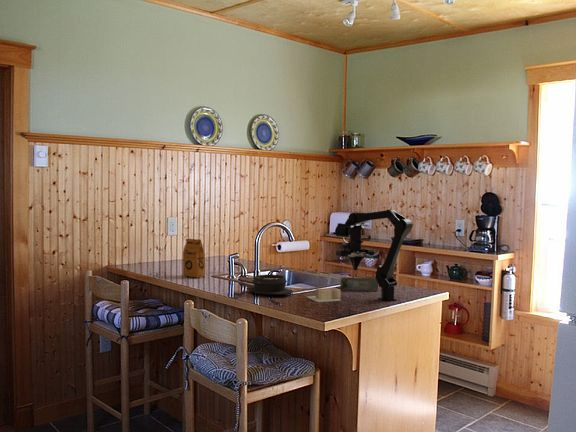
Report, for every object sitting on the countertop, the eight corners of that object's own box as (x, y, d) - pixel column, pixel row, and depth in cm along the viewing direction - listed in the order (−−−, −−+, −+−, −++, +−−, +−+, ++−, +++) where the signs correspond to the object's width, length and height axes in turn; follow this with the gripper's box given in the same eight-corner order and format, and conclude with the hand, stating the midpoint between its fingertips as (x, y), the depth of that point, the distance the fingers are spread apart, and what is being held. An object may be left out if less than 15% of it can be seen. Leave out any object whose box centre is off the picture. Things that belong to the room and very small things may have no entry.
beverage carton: (339, 288, 290) (340, 275, 289) (376, 289, 288) (377, 276, 288) (340, 290, 282) (340, 277, 281) (378, 291, 280) (378, 278, 280)
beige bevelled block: (340, 290, 258) (321, 291, 255) (340, 298, 258) (320, 299, 255) (335, 287, 264) (315, 288, 260) (334, 296, 264) (315, 297, 260)
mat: (341, 300, 255) (341, 299, 255) (317, 302, 251) (317, 301, 251) (330, 295, 266) (330, 295, 266) (307, 297, 262) (307, 296, 262)
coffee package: (195, 279, 310) (195, 240, 309) (180, 277, 317) (180, 238, 316) (208, 277, 318) (208, 238, 317) (193, 275, 325) (193, 237, 324)
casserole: (237, 293, 271) (237, 276, 270) (262, 288, 285) (262, 272, 285) (277, 300, 255) (277, 282, 255) (301, 294, 270) (301, 277, 270)
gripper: (363, 236, 280) (363, 267, 280) (330, 237, 272) (330, 268, 273) (375, 238, 269) (374, 270, 270) (341, 239, 262) (341, 272, 263)
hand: (355, 270), depth 269 cm, fingers closed
